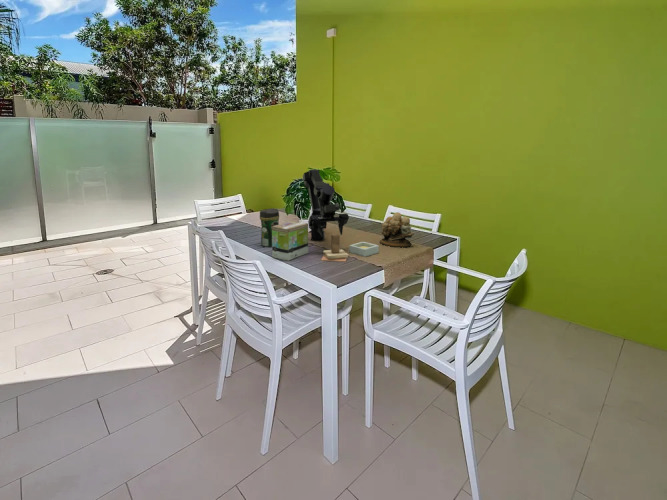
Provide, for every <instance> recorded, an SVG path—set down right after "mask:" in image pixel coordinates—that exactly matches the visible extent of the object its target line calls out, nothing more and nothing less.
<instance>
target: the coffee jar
mask: <svg viewBox="0 0 667 500" xmlns="http://www.w3.org/2000/svg"><path fill="white" fill-rule="evenodd" d="M279 219H280V213H279V209H277V208H273V207H272V208H267V209H262V210H260V211H259V220H260V224H261V231H260V232H261V237H260V238H261V239H260V243H261V245H262V246H263V247H264V246H265V248H267V247H268V248H271V247H272V226H275V225H279V224H280V223H279Z"/></svg>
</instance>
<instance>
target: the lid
mask: <svg viewBox="0 0 667 500" xmlns="http://www.w3.org/2000/svg"><path fill="white" fill-rule="evenodd" d="M340 238H341V234H340V233H331V234H330V248H331V249H327V250H322V251H323V255H326V257H327V258H328V259H338V258H344V257H348V258H349V256H348V254H349V253H347V252H346V251H345V250H344V249H342V248H341V247H340V241H341V240H340Z"/></svg>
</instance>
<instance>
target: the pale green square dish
mask: <svg viewBox="0 0 667 500" xmlns="http://www.w3.org/2000/svg"><path fill="white" fill-rule="evenodd" d="M379 248H380V244H379V245H378V244H375V243H370V242H365V241H360V242H357V243H356V242H355V243H353V244H349V245H348V254H354V255H355V256H356V255H357V256H360V257H364V258H366V257H369V256H372V255H375V254H379V251H380V249H379Z"/></svg>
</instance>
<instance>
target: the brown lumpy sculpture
mask: <svg viewBox="0 0 667 500" xmlns="http://www.w3.org/2000/svg"><path fill="white" fill-rule="evenodd" d="M411 230H412V226H411V219H410V217H408V216H402V214H401V212H394V213H393V215H392V216H387V218H386V219H385V221H384V222H382V223H381V235H383V237H382V238H381V240H379V245H381V244H382V246H384V245H385V247H388V246H390V248H395V247H400V248H399V249H406V248H410V247H411V246H413V245H412V243H411V241H410V240H409V239H410V238H412V237H413V235H415V232H413V231H412V232H411ZM407 238H408V239H407ZM402 247H403V248H402Z"/></svg>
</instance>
